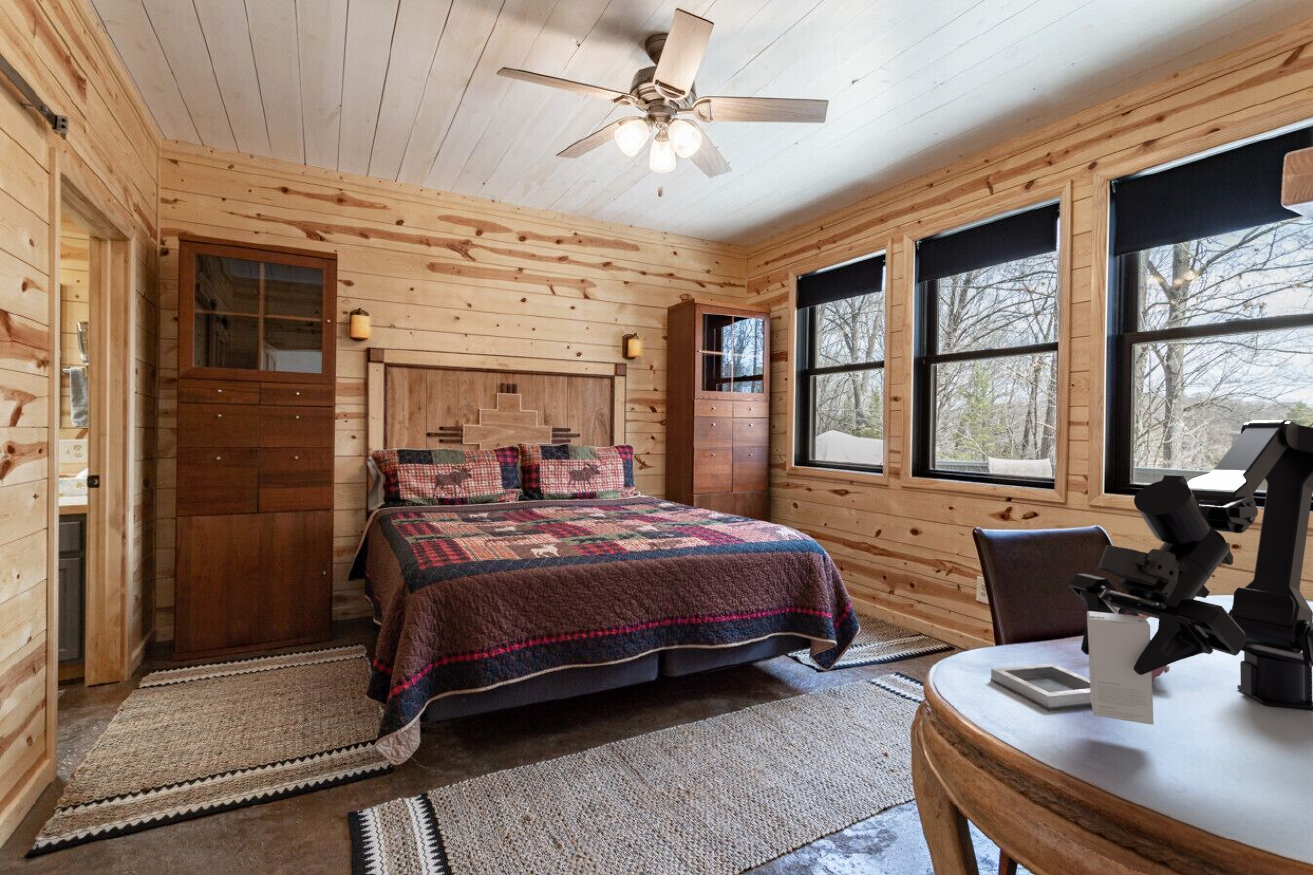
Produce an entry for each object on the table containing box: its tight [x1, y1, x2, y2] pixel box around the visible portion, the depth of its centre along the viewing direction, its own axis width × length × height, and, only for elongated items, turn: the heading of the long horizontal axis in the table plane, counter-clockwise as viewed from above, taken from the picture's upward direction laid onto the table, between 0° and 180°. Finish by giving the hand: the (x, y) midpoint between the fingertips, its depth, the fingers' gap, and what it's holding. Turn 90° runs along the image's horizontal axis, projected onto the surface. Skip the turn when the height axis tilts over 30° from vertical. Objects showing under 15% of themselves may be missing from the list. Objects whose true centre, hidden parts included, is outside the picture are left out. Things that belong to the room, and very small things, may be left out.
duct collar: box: [990, 663, 1092, 712], centre depth 93 cm, size 11×11×2 cm
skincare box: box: [1086, 610, 1155, 726], centre depth 78 cm, size 6×4×12 cm
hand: (1109, 661), depth 78 cm, fingers closed on skincare box, 7 cm apart
